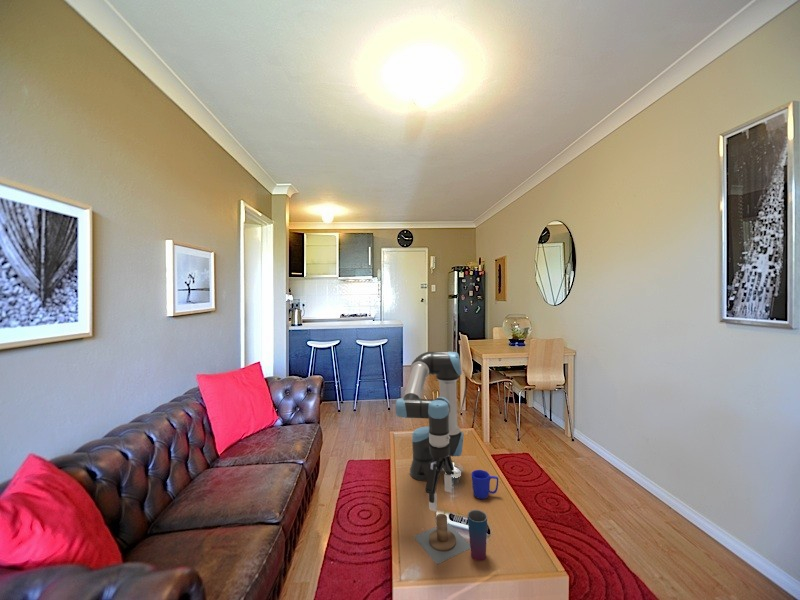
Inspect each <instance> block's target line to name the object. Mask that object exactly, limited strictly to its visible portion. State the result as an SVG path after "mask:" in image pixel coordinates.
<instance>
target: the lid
mask: <svg viewBox="0 0 800 600" xmlns="http://www.w3.org/2000/svg"><path fill="white" fill-rule="evenodd" d="M435 520H436V521H435V522H436V524H435V525H436V527H437V530H435V531H433V532H432V533H431V534H430V535H429V544H430V546H431V547H432V548H434V549H435V550H438V551H449V550H451V549H453V548H454V547H455V545H456V538H455V535H454V534H453V533H452V532H450V531H448V530H447V523H448V516H447V514H444V513H438V514H437V515H436V518H435Z"/></svg>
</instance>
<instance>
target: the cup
mask: <svg viewBox="0 0 800 600" xmlns="http://www.w3.org/2000/svg"><path fill="white" fill-rule="evenodd" d="M467 525H468V534H469V543H470V555H471V557H472V559H474V560H475V561H477V562H482V561H484V560H485V559H486V558H487V532H488V531H487V530H488V515H487V513H486V512H484V511H483V510H480V509H471V510H469V511H468V513H467Z"/></svg>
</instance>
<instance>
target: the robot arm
mask: <svg viewBox="0 0 800 600" xmlns="http://www.w3.org/2000/svg"><path fill="white" fill-rule="evenodd" d="M460 358H461V357H460V354H459V353H458V352H456V351H449V350H448V351H426V352H425V351H424V352H423V353H421V354H419V355H418V356H417V357H416V358H415V359H414V360H413V361H412V363H411V365H410V368H409V372H410V375H409V378H408V381H407V385H406V387H405V391H404V395H403V397H401V398H397V399H396V401H395V408H394V411H395V416H397V417H398V418H405V419H427V420H428V426H421V427H417V428H416V429H415V430H414V431H412V438H411V443H412V461H411V465H410V468H409V475H410V476H411V478H413V479H414V480H416V481H422V482H425V481H426V482H425V483H426V485H425V490H424V492H425V494H427V495H428V509H429V510H430V511H432V512H438V504H437V503H438V502H437V501H438V500H437V491H436V489H437V485H438V481H439V477H440V475H441V474H442V471H444V474H443V478H444V479H443V480H444V492H446V493H447V492H448V493H450V494H451V493H452V492H453V485H452V484H453V483H452V480H453V479H452V476H454V475H455V471H454V470H455V468H454V463H453V460H452V457H453V458H454V457H460V456H461V455H462V453H463V446H464V437H465V436H464V434H465V433H464V432H462V431H461V430H462V429H461V428H460V427H459V426H458V425H459V424H458V405H457V404H458V402H457V401H458V400H457V381H458V380H459V379H460V376H461V375H462V366H461V359H460ZM430 375H433V376H435V377H436V380H437V381H438V382H439V383H438V385H439V396H438V397H436V398H433V399H432V398H429V399H428V398H426V399H425V398H422V397H423V392H424V389H425V384H426V378H427V377H428V376H430Z"/></svg>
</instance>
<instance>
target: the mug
mask: <svg viewBox="0 0 800 600" xmlns="http://www.w3.org/2000/svg"><path fill="white" fill-rule="evenodd" d="M491 479H493V480H495V479H496V487H495V489H494V490H493V491H491V490H490V485H491ZM471 483H472V493H473V495H474V496H475V498H478V499H479V500H480V499H481V500H484V499H487V498H488V497H489V494H492V495H493V494H496V493H497V491H498V489H499V488H498V487H499V477H498V476H496V475H495V476H494V475H490V473H489V472H488V471H486V470H483V469H475V470H473V471H472V472H471Z"/></svg>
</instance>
